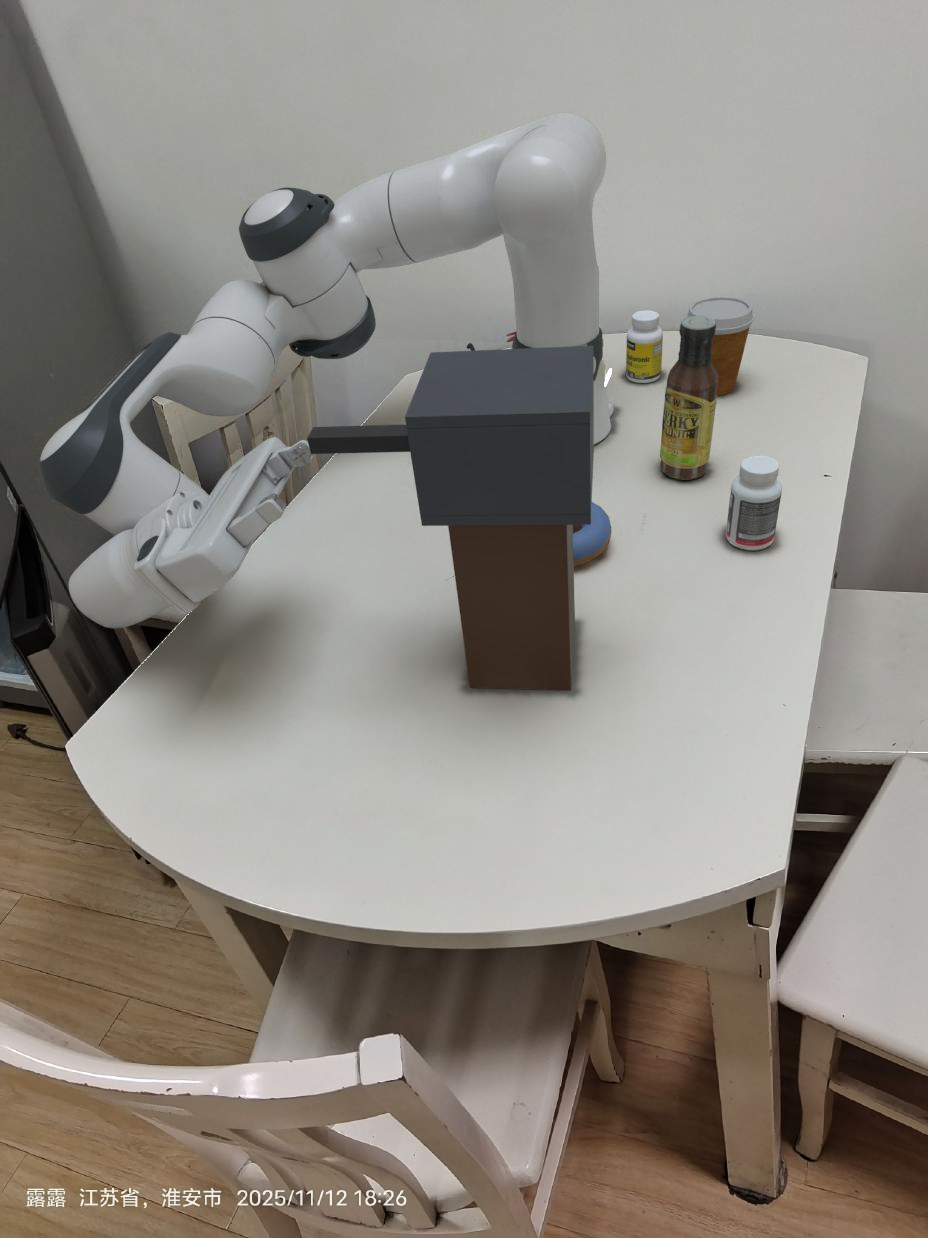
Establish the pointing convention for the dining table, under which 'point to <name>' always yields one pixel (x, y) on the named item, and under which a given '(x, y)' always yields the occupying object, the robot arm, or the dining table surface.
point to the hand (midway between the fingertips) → (294, 474)
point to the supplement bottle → (644, 347)
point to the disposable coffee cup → (726, 335)
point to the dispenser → (508, 499)
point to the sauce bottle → (690, 402)
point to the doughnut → (591, 536)
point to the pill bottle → (754, 504)
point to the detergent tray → (358, 439)
